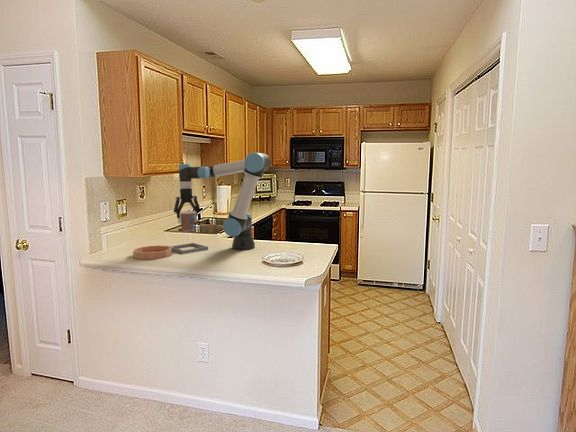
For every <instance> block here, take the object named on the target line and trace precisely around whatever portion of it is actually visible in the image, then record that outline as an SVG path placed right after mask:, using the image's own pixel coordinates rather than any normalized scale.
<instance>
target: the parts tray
mask: <svg viewBox="0 0 576 432" xmlns="http://www.w3.org/2000/svg"><path fill="white" fill-rule="evenodd" d="M170 247H172V252H174V253H178V254H181V255H184V254H185V255H187V254H190V253H197V252H201V251H208V250H209V246H207V245H203V244H199V243H196V242H191V243H183V244H178V245H171V246H170ZM190 247H195V248H190ZM185 248H190V249H185Z"/></svg>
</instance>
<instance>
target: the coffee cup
mask: <svg viewBox="0 0 576 432" xmlns="http://www.w3.org/2000/svg"><path fill="white" fill-rule="evenodd" d="M180 213H181V222H182V223H181V225H180V226H181V229H182V231H183V232H192V231H194V230H195V229H194V228H195V221H194V220H195V212H194V210H193V211H192V210H191V211H190V210H188V211H180Z"/></svg>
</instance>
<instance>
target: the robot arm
mask: <svg viewBox="0 0 576 432" xmlns="http://www.w3.org/2000/svg"><path fill="white" fill-rule="evenodd" d="M271 163H272V162H271V158H270V157H269V155H267V154H266V153H263V152H254V151H253V152H251V153H249V154H247V155H246V156H245V158H244V159H242V160H236V161H231V162H225V163H220V164H215V165H209V166H208V165H207V166H192V165H191V164H190V163H180V164H178V176H179V177H178V179H179V188H180V189H179V195H180V196H176V197H175V203H174V208H173V213H175V214H176V218H177V220H178V221H177V222H178V224H179V225H180V224H181V223H182V222H181V213H180V212H182V209H183V207H184V205H185V203H188V204H189V205H190V206H191V208H192V209H193V211H194V212H195V220H194V223H196V222H197V221H198V219H197V217H198V212H199V211H200V210H201V208H200V204H199V202H198V196H197V195H193V188H192V187H193V185H192V181H193V180H192V179H197V180H198V179H201V180H205V179H213V178H215V177H222V176H227V175H228V176H229V175H234V174H239V173H244V177H243V180H242V183H241V186H240V189H239V191H238V196H237V198H236V201H235V203H234V206H233V209H232V210H231V211H230V212H229V214H228V215H227V219H225V220H224V222H223V224H222V228H223V231H224V233H225V234H226V236H229V237H233V241H232V244H231V248H232V249H233V250H237V251H238V250H240V251H246V250H247V251H248V250H251V249H255V248H256V243H255V241H254V238H253V224H252V223H253V222H252V220H253V218H252V214H251V213H248V210H249V207H250V205H251V202H252V199H253V196H254V193H255V191H256V187H257V185H258V182H259V180H260V179H262V177H263V175H264V172H267V170H269V168H270V167H271Z"/></svg>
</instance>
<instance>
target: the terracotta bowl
mask: <svg viewBox="0 0 576 432" xmlns="http://www.w3.org/2000/svg"><path fill="white" fill-rule="evenodd" d="M132 254H133V258H134V259H136V260H141V261H143V260H144V261H145V260H146V261H147V260H148V261H149V260H150V261H152V260H159V259H161V260H162V259H165V258H169V257H170V256H172V254H173V251H172V247H170V246H169V245H146V246H141V247H137V248H135V249H133V251H132Z"/></svg>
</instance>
